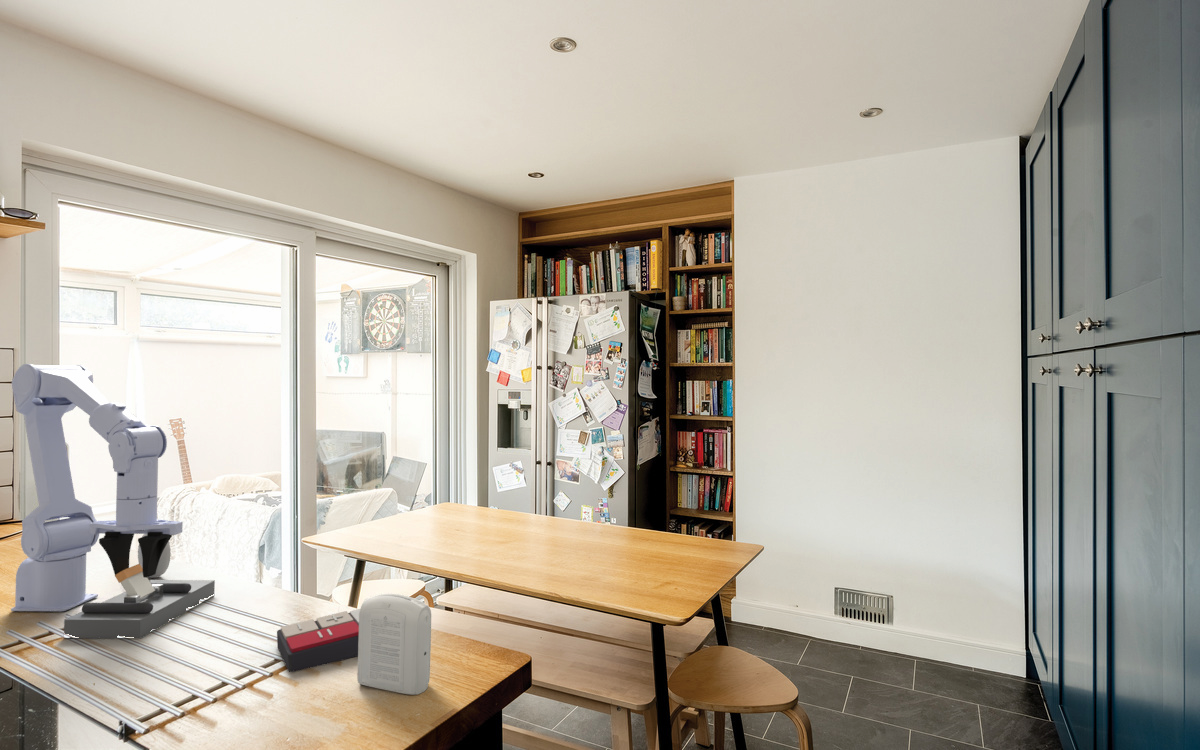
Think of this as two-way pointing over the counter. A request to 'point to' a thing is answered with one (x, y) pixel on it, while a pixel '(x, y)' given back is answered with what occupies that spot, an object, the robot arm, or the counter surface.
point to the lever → (135, 582)
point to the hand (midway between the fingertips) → (135, 575)
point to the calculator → (319, 640)
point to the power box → (137, 610)
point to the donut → (163, 560)
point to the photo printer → (394, 644)
